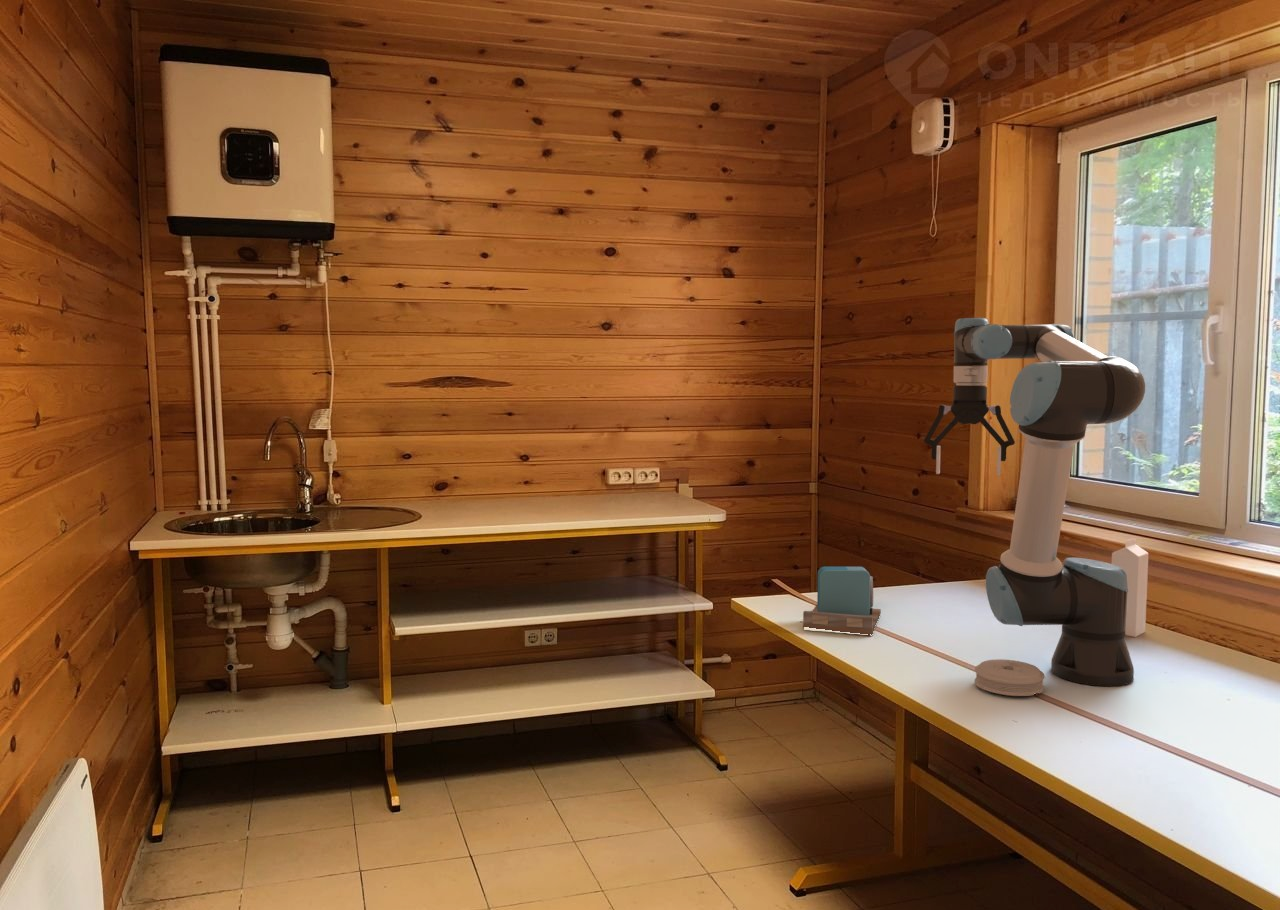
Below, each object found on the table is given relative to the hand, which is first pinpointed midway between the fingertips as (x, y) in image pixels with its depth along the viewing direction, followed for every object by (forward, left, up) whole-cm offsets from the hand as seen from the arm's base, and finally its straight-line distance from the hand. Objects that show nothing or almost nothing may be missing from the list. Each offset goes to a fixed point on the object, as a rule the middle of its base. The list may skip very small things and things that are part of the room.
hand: (967, 474), depth 228 cm
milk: (+6, -36, -37) cm, 52 cm away
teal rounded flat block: (-6, +28, -35) cm, 46 cm away
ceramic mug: (+12, +26, -37) cm, 47 cm away
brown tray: (-6, +28, -37) cm, 47 cm away
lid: (-44, -9, -37) cm, 58 cm away
